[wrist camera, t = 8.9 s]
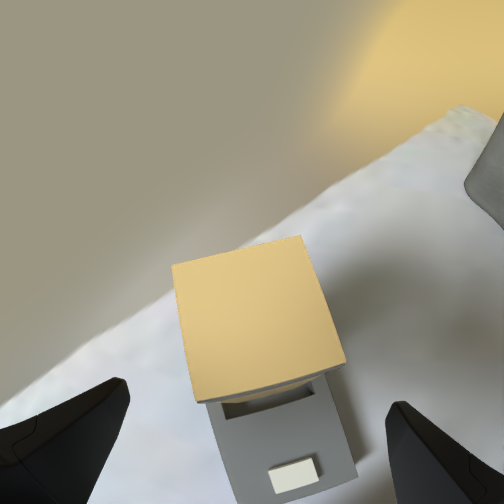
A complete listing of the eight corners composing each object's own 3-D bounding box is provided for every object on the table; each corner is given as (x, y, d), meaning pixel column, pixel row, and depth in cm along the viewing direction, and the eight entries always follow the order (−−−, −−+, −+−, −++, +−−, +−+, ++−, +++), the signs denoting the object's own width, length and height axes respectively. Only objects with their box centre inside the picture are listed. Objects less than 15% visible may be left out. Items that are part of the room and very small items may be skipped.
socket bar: (348, 470, 16) (361, 478, 13) (243, 501, 15) (240, 515, 12) (293, 307, 23) (297, 292, 20) (194, 334, 22) (184, 323, 19)
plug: (294, 389, 19) (348, 362, 7) (238, 403, 19) (193, 403, 7) (279, 337, 21) (301, 233, 9) (225, 351, 21) (169, 264, 9)
